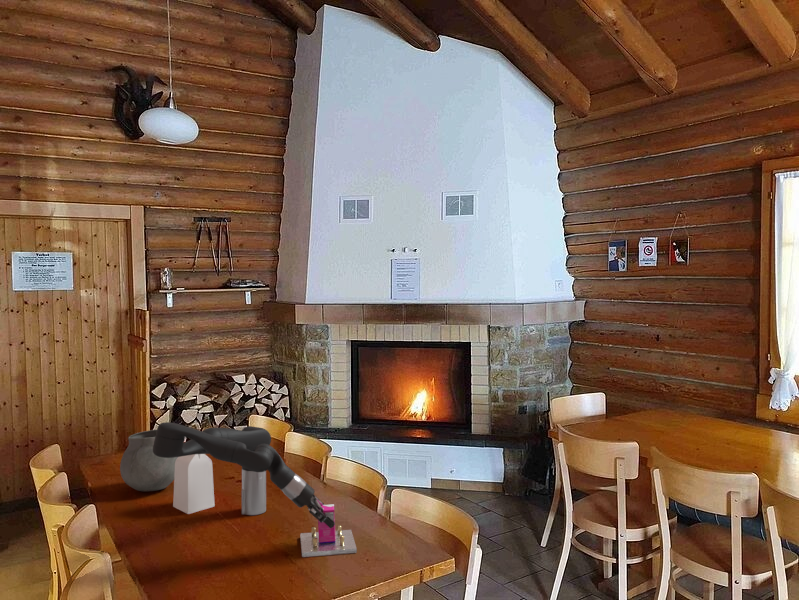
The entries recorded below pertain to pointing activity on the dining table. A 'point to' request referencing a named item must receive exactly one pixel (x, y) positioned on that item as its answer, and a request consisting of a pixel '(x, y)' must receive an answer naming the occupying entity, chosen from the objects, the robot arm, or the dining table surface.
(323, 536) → the supplement box
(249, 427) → the robot arm
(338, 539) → the chassis plate
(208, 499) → the milk
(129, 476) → the ceramic pot
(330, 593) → the dining table surface
